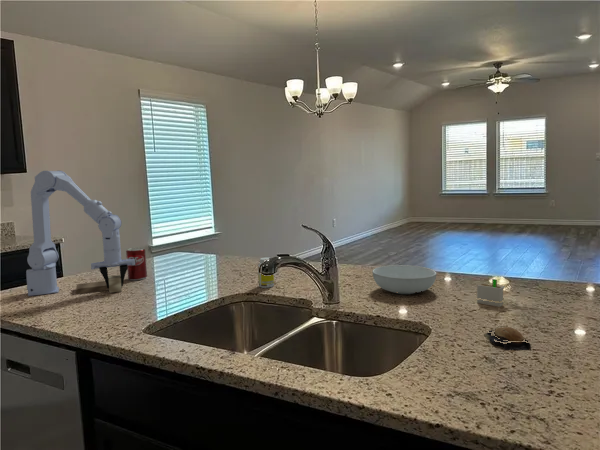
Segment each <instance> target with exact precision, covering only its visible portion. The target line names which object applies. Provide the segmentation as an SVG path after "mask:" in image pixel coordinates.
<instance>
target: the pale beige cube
mask: <svg viewBox="0 0 600 450" xmlns="http://www.w3.org/2000/svg"><path fill="white" fill-rule="evenodd" d="M108 282H109V290H108V291H109V294H112V293H120V292H121V293H122V291H123V287H122V288H121V277H120V274H117V275H116V274H115V275H108Z"/></svg>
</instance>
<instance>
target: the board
mask: <svg viewBox="0 0 600 450" xmlns="http://www.w3.org/2000/svg"><path fill="white" fill-rule="evenodd" d="M75 286H76V294H77V295H80V294H88V293H89V294H90V293H97V292H103V291H104V292H105V291H109V288H107V285H106V282H105V280H101V281H93V282H86V283H85V282H84V283H76V285H75ZM121 288H122V289H123V286H122V287H121Z"/></svg>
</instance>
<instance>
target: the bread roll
mask: <svg viewBox="0 0 600 450" xmlns="http://www.w3.org/2000/svg"><path fill="white" fill-rule="evenodd" d="M488 331H489V332H492V330H488ZM494 331H495V332H494V334H495V336H497V337H498V338H500V339H498V338H497V337H495V336H491V333H488V332H486V333H484V334H483V336H484V337H485V338H486V340H488V341H489V342H490V343H491V344H492V345H494V346H495V347H497V348H500V349H503V350H504V351H528V350H530V349H532V346H531V343H530V342H529V343H526V342H511V343H507V344H503V343H500V342H495V341H494V339H495V340H497V341H501V342H508V341H523V340H524V338H525V337H524V336H523V334H522V333H521V332H520V331H519V330H517V328H516V329H515V328H513V327H510V326H508V327H507V326H504V327H497V328H496V329H495V330H494ZM503 340H508V341H503ZM525 341H527V342H528V341H529V340H528V339H526V338H525Z"/></svg>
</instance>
